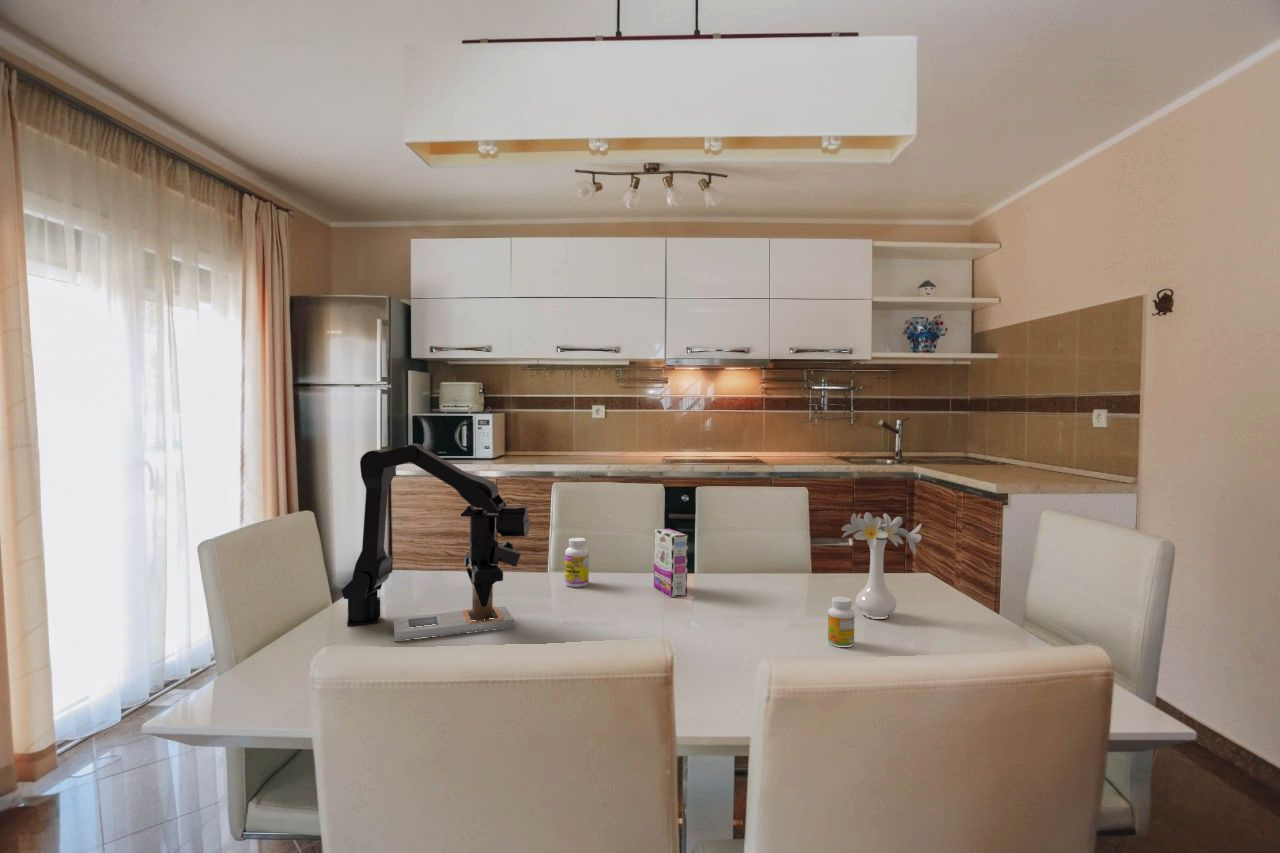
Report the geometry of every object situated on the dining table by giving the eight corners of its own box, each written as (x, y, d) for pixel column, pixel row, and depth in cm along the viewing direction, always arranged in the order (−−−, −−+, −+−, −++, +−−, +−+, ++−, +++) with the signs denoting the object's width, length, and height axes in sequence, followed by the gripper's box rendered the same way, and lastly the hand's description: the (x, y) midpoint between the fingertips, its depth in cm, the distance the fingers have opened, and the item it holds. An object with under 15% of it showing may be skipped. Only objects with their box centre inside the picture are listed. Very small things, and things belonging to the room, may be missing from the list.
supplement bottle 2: (823, 639, 141) (824, 595, 140) (848, 639, 141) (848, 595, 141) (833, 648, 135) (833, 602, 135) (858, 648, 136) (858, 602, 135)
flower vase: (927, 625, 151) (930, 518, 150) (848, 624, 151) (850, 517, 150) (904, 607, 164) (906, 509, 163) (831, 606, 164) (833, 508, 163)
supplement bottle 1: (560, 585, 180) (560, 540, 180) (573, 580, 186) (573, 536, 185) (580, 589, 177) (580, 542, 176) (593, 583, 183) (593, 538, 182)
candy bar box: (688, 596, 172) (689, 534, 171) (671, 598, 170) (672, 536, 169) (668, 585, 182) (669, 527, 181) (652, 587, 180) (653, 528, 179)
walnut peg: (473, 620, 145) (473, 581, 145) (471, 614, 149) (471, 575, 149) (494, 618, 147) (494, 579, 146) (490, 612, 151) (490, 574, 151)
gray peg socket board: (394, 642, 136) (394, 631, 136) (393, 626, 146) (393, 617, 145) (513, 627, 146) (513, 618, 146) (505, 614, 155) (505, 605, 155)
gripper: (526, 541, 142) (526, 611, 142) (510, 526, 159) (509, 589, 160) (474, 545, 138) (474, 617, 138) (463, 529, 155) (463, 593, 155)
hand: (482, 603), depth 148 cm, fingers closed on walnut peg, 4 cm apart
